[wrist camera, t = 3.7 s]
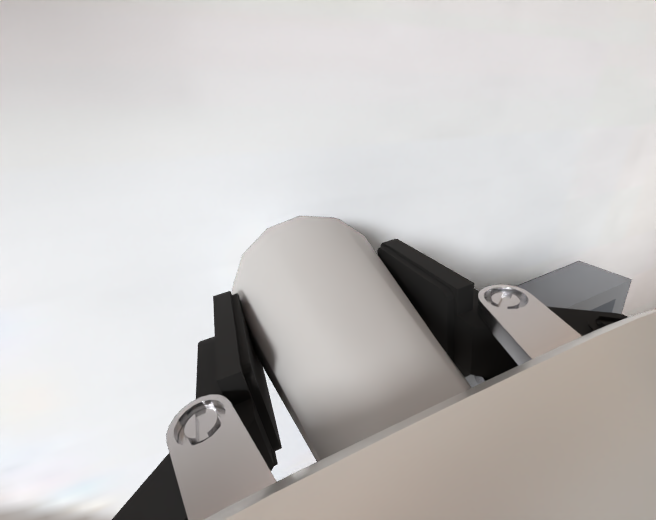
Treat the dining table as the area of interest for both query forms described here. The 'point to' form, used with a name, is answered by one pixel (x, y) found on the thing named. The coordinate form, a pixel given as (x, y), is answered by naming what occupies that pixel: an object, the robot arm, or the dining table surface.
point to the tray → (578, 291)
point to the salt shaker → (338, 334)
